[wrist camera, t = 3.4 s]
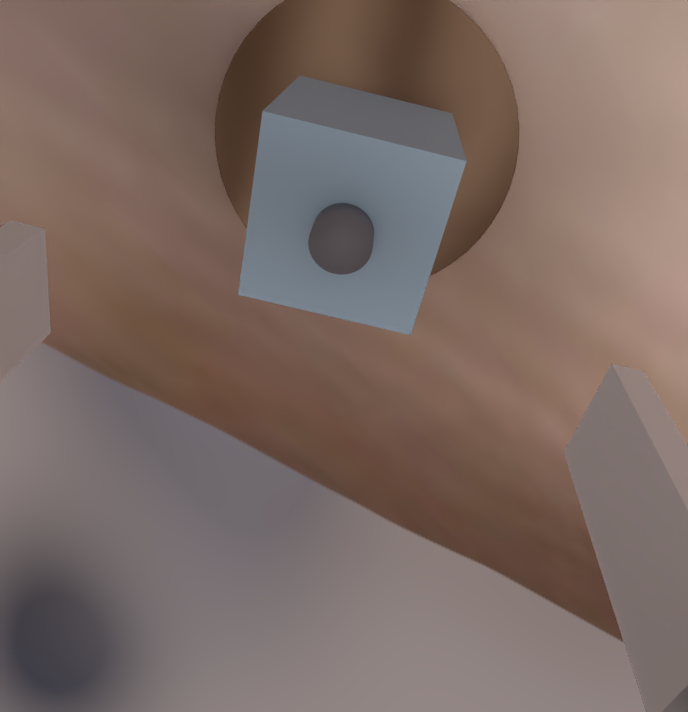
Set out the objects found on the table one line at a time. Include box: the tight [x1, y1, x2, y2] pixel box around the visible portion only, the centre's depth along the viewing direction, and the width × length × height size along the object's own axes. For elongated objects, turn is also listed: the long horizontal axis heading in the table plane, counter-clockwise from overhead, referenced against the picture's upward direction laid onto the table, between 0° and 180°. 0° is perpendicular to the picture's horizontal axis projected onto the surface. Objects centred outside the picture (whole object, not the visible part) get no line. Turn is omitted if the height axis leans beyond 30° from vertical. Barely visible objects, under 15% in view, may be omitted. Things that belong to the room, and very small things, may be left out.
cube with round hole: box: [238, 76, 467, 335], centre depth 22 cm, size 6×6×8 cm
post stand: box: [215, 0, 519, 275], centre depth 25 cm, size 14×14×10 cm
